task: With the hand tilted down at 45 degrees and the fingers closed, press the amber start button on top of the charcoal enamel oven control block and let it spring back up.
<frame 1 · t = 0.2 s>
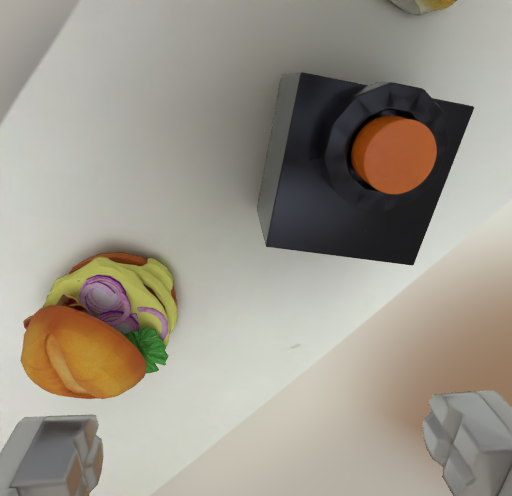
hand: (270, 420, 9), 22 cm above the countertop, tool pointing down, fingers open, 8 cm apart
cheeseburger: (120, 300, 32), on the countertop
oven button: (391, 154, 19), point 10 cm above the countertop, slide at 0.1 cm
oven control: (332, 157, 28), on the countertop
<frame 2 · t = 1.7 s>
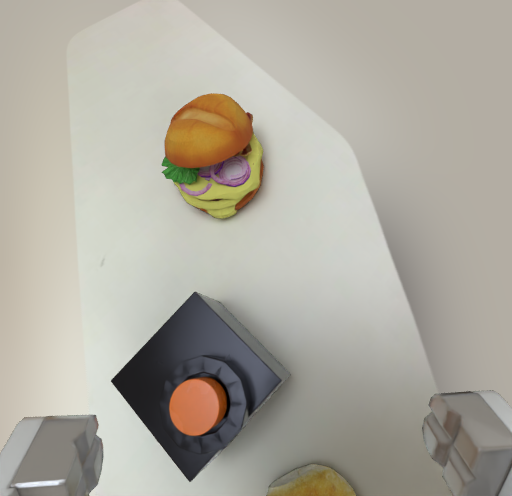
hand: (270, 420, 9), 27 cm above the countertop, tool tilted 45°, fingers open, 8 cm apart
cheeseburger: (222, 174, 42), on the countertop
oven button: (198, 404, 26), point 10 cm above the countertop, slide at 0.1 cm
oven control: (218, 374, 36), on the countertop
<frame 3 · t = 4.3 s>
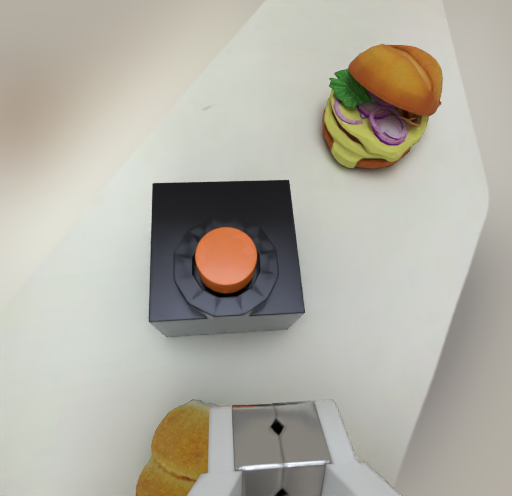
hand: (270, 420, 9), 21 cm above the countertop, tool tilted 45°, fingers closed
cheeseburger: (364, 131, 39), on the countertop
bread roll: (202, 465, 27), on the countertop
oven button: (226, 260, 22), point 10 cm above the countertop, slide at 0.1 cm
oven control: (225, 274, 32), on the countertop
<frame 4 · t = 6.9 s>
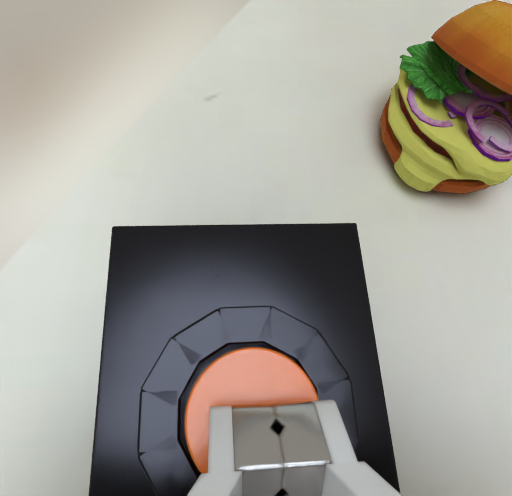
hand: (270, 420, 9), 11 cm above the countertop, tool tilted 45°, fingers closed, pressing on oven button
cheeseburger: (438, 138, 27), on the countertop
oven button: (251, 415, 11), point 9 cm above the countertop, slide at -0.1 cm, touching gripper
oven control: (236, 362, 20), on the countertop
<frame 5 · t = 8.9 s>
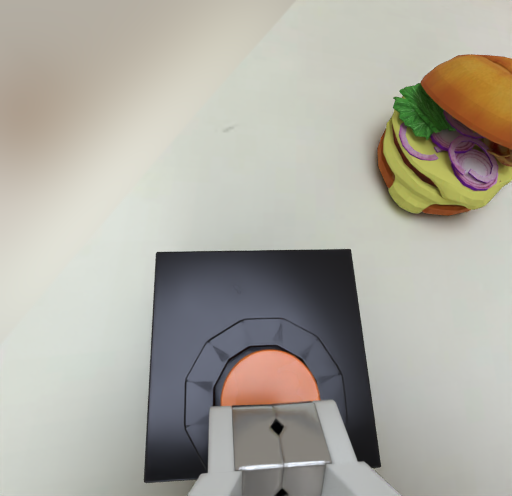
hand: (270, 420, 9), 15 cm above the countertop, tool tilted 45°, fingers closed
cheeseburger: (428, 164, 30), on the countertop
oven button: (268, 400, 14), point 10 cm above the countertop, slide at 0.1 cm
oven control: (250, 360, 24), on the countertop
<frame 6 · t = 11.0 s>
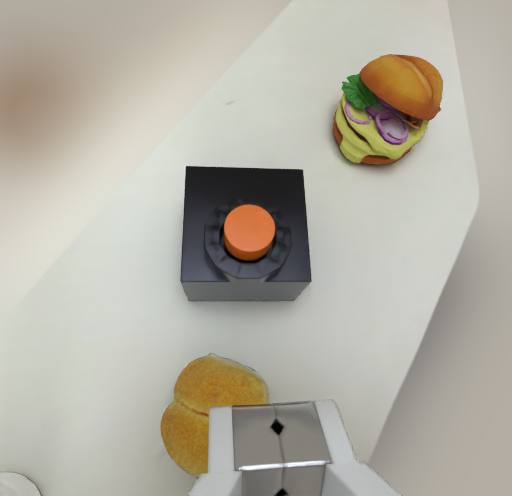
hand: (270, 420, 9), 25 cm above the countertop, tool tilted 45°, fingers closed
cheeseburger: (371, 131, 43), on the countertop
bread roll: (216, 410, 32), on the countertop
oven button: (248, 232, 27), point 10 cm above the countertop, slide at 0.1 cm
oven control: (241, 250, 37), on the countertop
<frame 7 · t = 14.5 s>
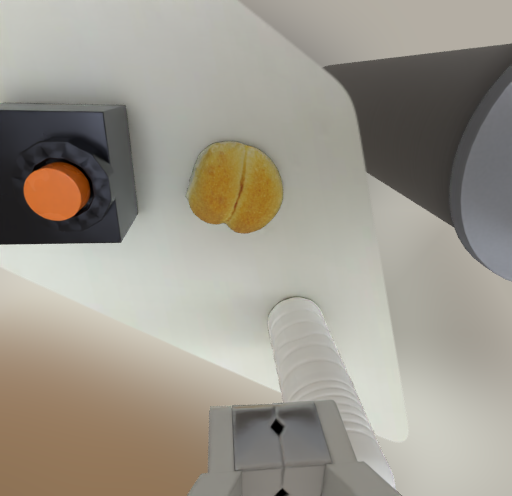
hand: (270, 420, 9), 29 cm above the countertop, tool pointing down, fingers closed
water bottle: (285, 321, 44), on the countertop
bread roll: (233, 185, 36), on the countertop
oven button: (58, 191, 25), point 10 cm above the countertop, slide at 0.1 cm
oven control: (76, 162, 34), on the countertop
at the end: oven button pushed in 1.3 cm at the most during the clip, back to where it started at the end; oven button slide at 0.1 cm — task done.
